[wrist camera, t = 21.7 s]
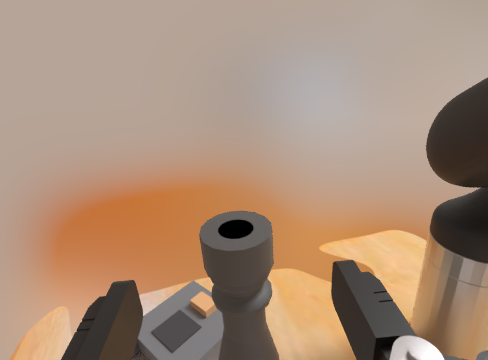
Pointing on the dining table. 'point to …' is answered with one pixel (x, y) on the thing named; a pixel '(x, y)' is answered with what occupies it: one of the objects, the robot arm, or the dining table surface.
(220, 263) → the candle holder
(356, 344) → the robot arm
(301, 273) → the dining table surface
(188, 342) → the grey compartment tray
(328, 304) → the dining table surface
